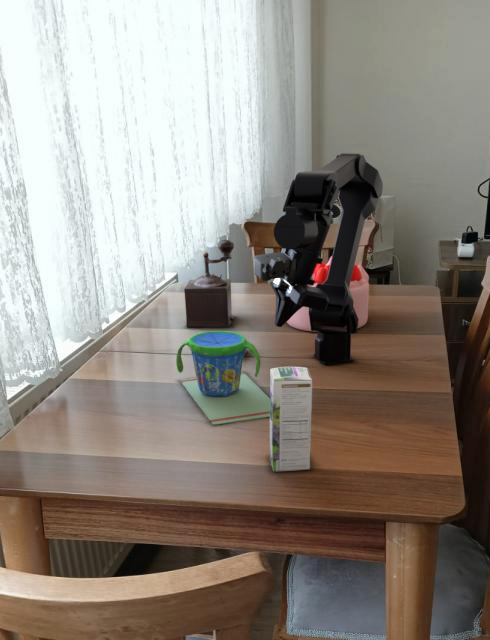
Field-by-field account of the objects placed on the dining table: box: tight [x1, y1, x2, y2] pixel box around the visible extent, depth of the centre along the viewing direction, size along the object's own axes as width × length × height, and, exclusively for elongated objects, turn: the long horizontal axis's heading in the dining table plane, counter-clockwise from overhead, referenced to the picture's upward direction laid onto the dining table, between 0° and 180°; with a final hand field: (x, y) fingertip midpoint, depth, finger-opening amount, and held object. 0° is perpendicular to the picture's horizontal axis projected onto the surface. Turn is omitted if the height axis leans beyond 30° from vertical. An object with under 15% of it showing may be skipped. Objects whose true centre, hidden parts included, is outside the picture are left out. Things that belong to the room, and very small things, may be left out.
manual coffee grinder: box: [184, 239, 235, 329], centre depth 188 cm, size 16×11×18 cm
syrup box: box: [269, 366, 313, 473], centre depth 115 cm, size 6×6×14 cm
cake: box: [286, 255, 370, 333], centre depth 184 cm, size 20×20×14 cm
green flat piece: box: [179, 370, 270, 426], centre depth 144 cm, size 13×24×1 cm, turn 18°
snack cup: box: [175, 330, 261, 396], centre depth 144 cm, size 16×10×10 cm
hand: (277, 326), depth 148 cm, fingers closed
